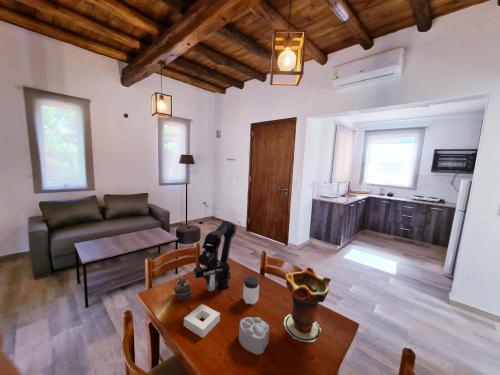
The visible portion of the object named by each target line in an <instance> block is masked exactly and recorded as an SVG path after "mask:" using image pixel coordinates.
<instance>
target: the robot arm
mask: <svg viewBox="0 0 500 375" xmlns="http://www.w3.org/2000/svg"><path fill="white" fill-rule="evenodd" d="M237 230H238V227H237V226H236V225H235V224H233V223H232V222H231V221H229V220H228V221H225V220H224V221H221V224H220V225H219V226H218V227H217V228H216V229H214V230H213V231H210V232H208V233H207V234H206V235H205V237H204V242H203V244H202V249H204V250H203V251H202V253H201V254H200V255H199V256H198V261H197V262H198V263H199V264H200V265H202V266H204V267H205V268H202V266H199V267H193V270H192V272H193V273H192V274H193V275H194V277H195V278H196V279H201V278H203V279H204V280H205V284H206V286H208V283H209V276H208V272H211V271H214V272H216V275H215V287H216V288H217V289H218V290H219V291H223V290H226V289H227V290H228V289H230V286H229V280H231V276H232V273H231V272H230V270H231V267H230V264H229V263H228V262H229V257H230V251H231V247H232V246H231V245H232V239H233V238H234V237H235V236H236V233H237ZM222 237H224V241H223V245H222V250H221V256H220V259H219V249H220V245H221V243H222ZM219 260H220V261H219Z"/></svg>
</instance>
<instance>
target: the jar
mask: <svg viewBox="0 0 500 375" xmlns="http://www.w3.org/2000/svg"><path fill="white" fill-rule="evenodd" d="M259 284H260V280H259V278H258V277H256V276H253V275H251V276H247V277H245V279H244V282H243V289H242V290H243V291H242V292H243V293H242V299H243V300H244V302H245V304H247V305H249V304H250V305H255V304H256V303H257V302H258V301H259V297H260V296H259V293H260V285H259Z"/></svg>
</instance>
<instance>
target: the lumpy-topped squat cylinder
mask: <svg viewBox="0 0 500 375" xmlns="http://www.w3.org/2000/svg"><path fill="white" fill-rule="evenodd" d="M238 331H239V332H238V341H239V343H240V345H241V346H242V348H243V349H245V350H246V351H248V352H250V353H251V354H254V355H261V354H263V353H264V351H265V348H266V347H267V345H268V344H269V339H270V338H269V336H270V325H269V324H268V323H267V322H266V321H264V320H262V319H261V318H260V317H258V316H256V317H253V316H252V317H251V316H247V317H244V318H241V319H240V321H239V329H238Z"/></svg>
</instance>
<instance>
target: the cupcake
mask: <svg viewBox="0 0 500 375" xmlns="http://www.w3.org/2000/svg"><path fill="white" fill-rule="evenodd" d="M192 289H193V288H192V285H191V283H190V282H189V281H188V280H187V279H181V278H179V279H178V280H177V283H176V284H175V286H174V288H173V290H174V291H173V292H174V295H175V299H176V300H177V301H179V302H180V301H181V302H183V301H186V300H188V299H189V298H190V296H191V293H192Z"/></svg>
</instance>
